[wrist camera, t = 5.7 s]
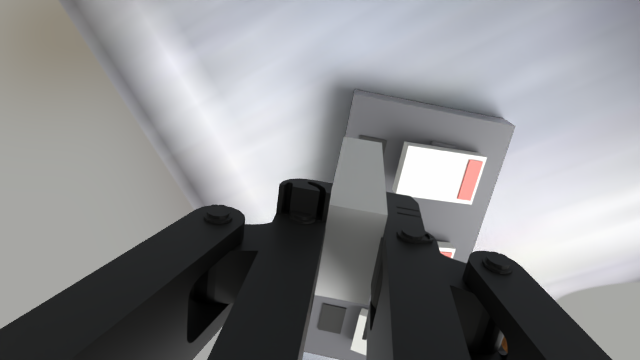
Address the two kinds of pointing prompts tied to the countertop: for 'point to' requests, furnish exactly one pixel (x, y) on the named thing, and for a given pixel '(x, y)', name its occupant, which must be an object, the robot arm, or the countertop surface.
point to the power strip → (438, 216)
